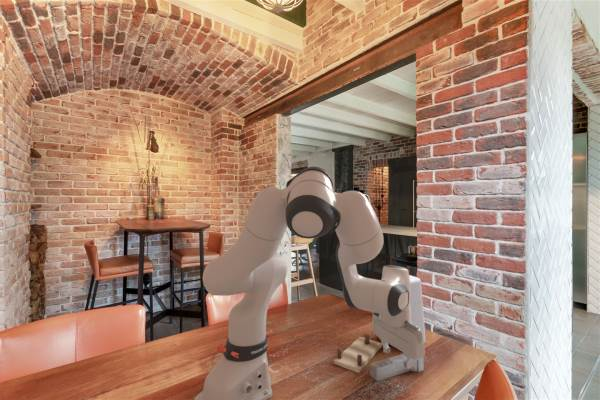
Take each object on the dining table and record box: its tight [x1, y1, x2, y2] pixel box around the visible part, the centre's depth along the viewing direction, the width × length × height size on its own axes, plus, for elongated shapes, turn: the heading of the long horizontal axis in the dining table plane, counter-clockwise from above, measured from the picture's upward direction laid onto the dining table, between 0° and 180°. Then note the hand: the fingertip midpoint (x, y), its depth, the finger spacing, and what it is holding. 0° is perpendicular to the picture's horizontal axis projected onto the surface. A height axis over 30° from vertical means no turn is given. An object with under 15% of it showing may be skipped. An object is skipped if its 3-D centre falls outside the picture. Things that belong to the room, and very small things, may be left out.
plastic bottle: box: [377, 269, 426, 349], centre depth 114 cm, size 15×15×28 cm
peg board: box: [333, 333, 383, 374], centre depth 103 cm, size 21×9×4 cm, turn 144°
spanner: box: [369, 353, 425, 382], centre depth 93 cm, size 20×6×4 cm, turn 114°
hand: (396, 359), depth 92 cm, fingers open, 8 cm apart
